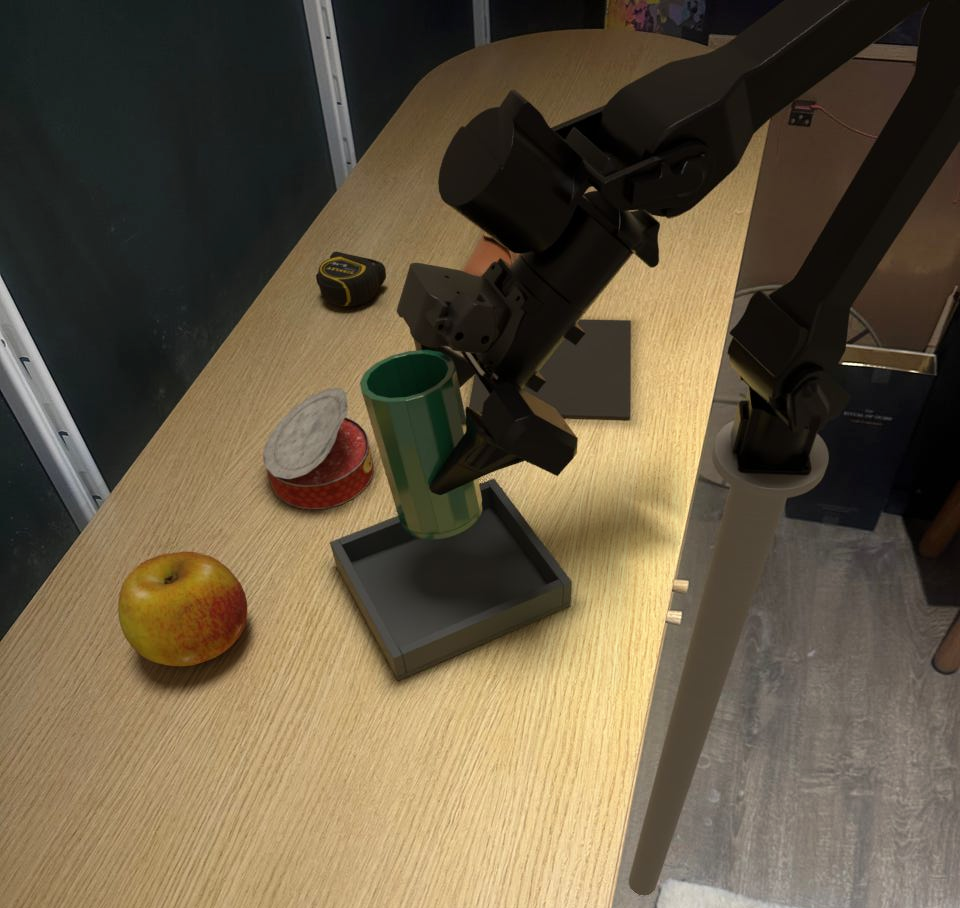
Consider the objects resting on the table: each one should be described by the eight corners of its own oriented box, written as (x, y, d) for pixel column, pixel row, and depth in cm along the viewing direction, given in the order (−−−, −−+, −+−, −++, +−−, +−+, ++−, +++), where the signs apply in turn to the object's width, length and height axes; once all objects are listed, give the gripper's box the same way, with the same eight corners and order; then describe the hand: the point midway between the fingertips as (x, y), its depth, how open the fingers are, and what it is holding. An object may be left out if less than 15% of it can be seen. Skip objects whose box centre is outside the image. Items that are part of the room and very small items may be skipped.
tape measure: (391, 287, 99) (386, 256, 96) (361, 318, 96) (355, 288, 93) (341, 274, 101) (335, 244, 98) (310, 305, 98) (303, 275, 95)
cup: (489, 485, 68) (462, 347, 60) (474, 539, 64) (444, 398, 55) (410, 487, 70) (373, 353, 61) (391, 540, 65) (349, 403, 57)
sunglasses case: (493, 208, 107) (519, 163, 102) (540, 241, 109) (568, 198, 104) (451, 288, 97) (477, 243, 92) (503, 322, 99) (531, 280, 94)
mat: (630, 323, 93) (630, 320, 92) (630, 420, 83) (630, 416, 83) (484, 320, 94) (484, 317, 94) (468, 415, 85) (467, 411, 85)
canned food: (349, 540, 82) (306, 509, 72) (268, 495, 85) (216, 460, 75) (408, 439, 82) (373, 395, 73) (325, 397, 85) (281, 349, 75)
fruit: (246, 582, 73) (218, 517, 67) (267, 662, 68) (240, 600, 62) (134, 615, 72) (95, 552, 65) (147, 700, 67) (106, 640, 60)
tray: (495, 503, 78) (494, 477, 75) (571, 605, 70) (572, 581, 68) (336, 566, 74) (329, 541, 72) (398, 681, 67) (392, 658, 64)
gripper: (413, 154, 56) (291, 347, 63) (534, 300, 45) (371, 512, 52) (524, 239, 64) (404, 402, 70) (649, 381, 53) (494, 556, 60)
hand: (416, 460), depth 63 cm, fingers closed on cup, 7 cm apart
